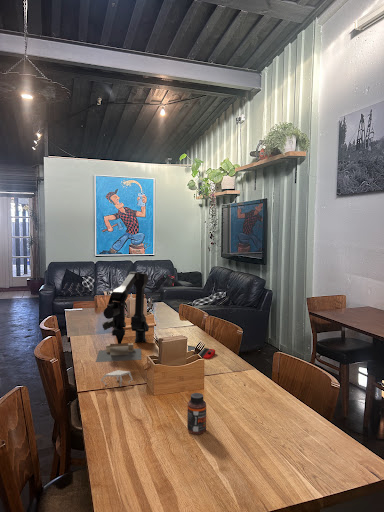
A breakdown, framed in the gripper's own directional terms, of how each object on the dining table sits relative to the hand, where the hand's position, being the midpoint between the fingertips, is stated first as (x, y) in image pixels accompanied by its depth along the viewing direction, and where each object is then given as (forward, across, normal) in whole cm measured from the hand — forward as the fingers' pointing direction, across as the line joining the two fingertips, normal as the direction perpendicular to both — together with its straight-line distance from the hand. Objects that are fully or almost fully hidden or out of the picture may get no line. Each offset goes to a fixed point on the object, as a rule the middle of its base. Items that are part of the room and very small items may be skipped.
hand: (119, 344), depth 191 cm
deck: (0, +3, 0) cm, 3 cm away
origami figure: (+5, +39, 0) cm, 40 cm away
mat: (+5, +3, 0) cm, 6 cm away
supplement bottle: (+5, +80, +28) cm, 85 cm away
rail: (+5, -3, 0) cm, 5 cm away
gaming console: (+5, +4, +35) cm, 35 cm away
